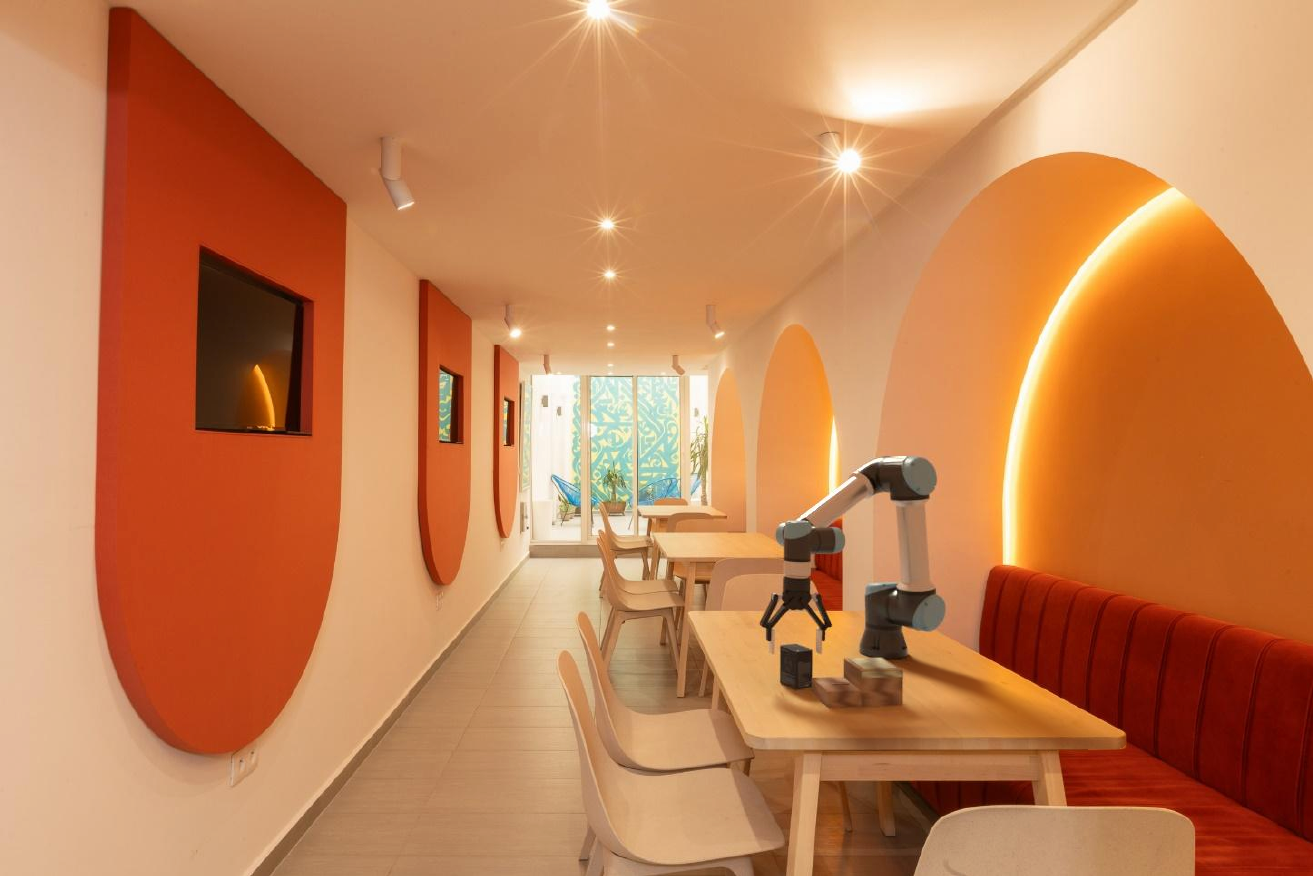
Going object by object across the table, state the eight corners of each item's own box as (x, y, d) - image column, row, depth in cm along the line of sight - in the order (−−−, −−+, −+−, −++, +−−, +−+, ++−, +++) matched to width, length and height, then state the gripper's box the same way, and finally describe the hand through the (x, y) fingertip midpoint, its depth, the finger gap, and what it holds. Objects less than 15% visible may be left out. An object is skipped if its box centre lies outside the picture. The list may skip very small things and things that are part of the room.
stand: (882, 690, 200) (882, 656, 201) (902, 705, 188) (903, 669, 188) (811, 692, 198) (811, 658, 198) (828, 708, 185) (828, 671, 186)
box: (813, 688, 202) (813, 649, 202) (796, 690, 199) (796, 651, 200) (795, 680, 209) (796, 642, 209) (779, 682, 207) (779, 644, 207)
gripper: (834, 574, 211) (833, 649, 210) (749, 573, 207) (748, 649, 206) (844, 578, 203) (843, 656, 202) (757, 577, 200) (755, 656, 199)
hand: (795, 653), depth 204 cm, fingers open, 13 cm apart
